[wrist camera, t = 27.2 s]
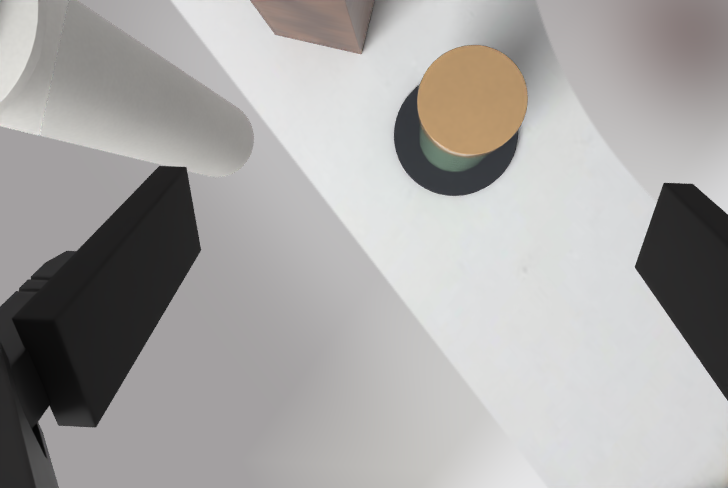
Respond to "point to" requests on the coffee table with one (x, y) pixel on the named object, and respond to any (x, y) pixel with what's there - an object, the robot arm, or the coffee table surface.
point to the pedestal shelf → (319, 21)
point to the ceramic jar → (469, 106)
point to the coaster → (434, 176)
